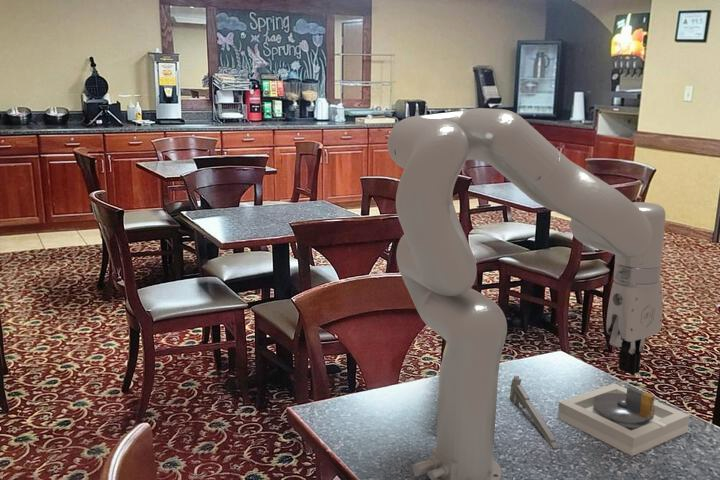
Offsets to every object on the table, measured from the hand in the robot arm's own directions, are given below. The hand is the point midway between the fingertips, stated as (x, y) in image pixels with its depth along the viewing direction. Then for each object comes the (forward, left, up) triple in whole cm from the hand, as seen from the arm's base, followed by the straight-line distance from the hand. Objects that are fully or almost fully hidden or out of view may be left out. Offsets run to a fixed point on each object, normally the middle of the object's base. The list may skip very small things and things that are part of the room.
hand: (628, 371), depth 125 cm
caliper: (-8, +14, -15) cm, 22 cm away
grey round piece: (+6, +4, -12) cm, 14 cm away
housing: (+6, +4, -14) cm, 16 cm away
